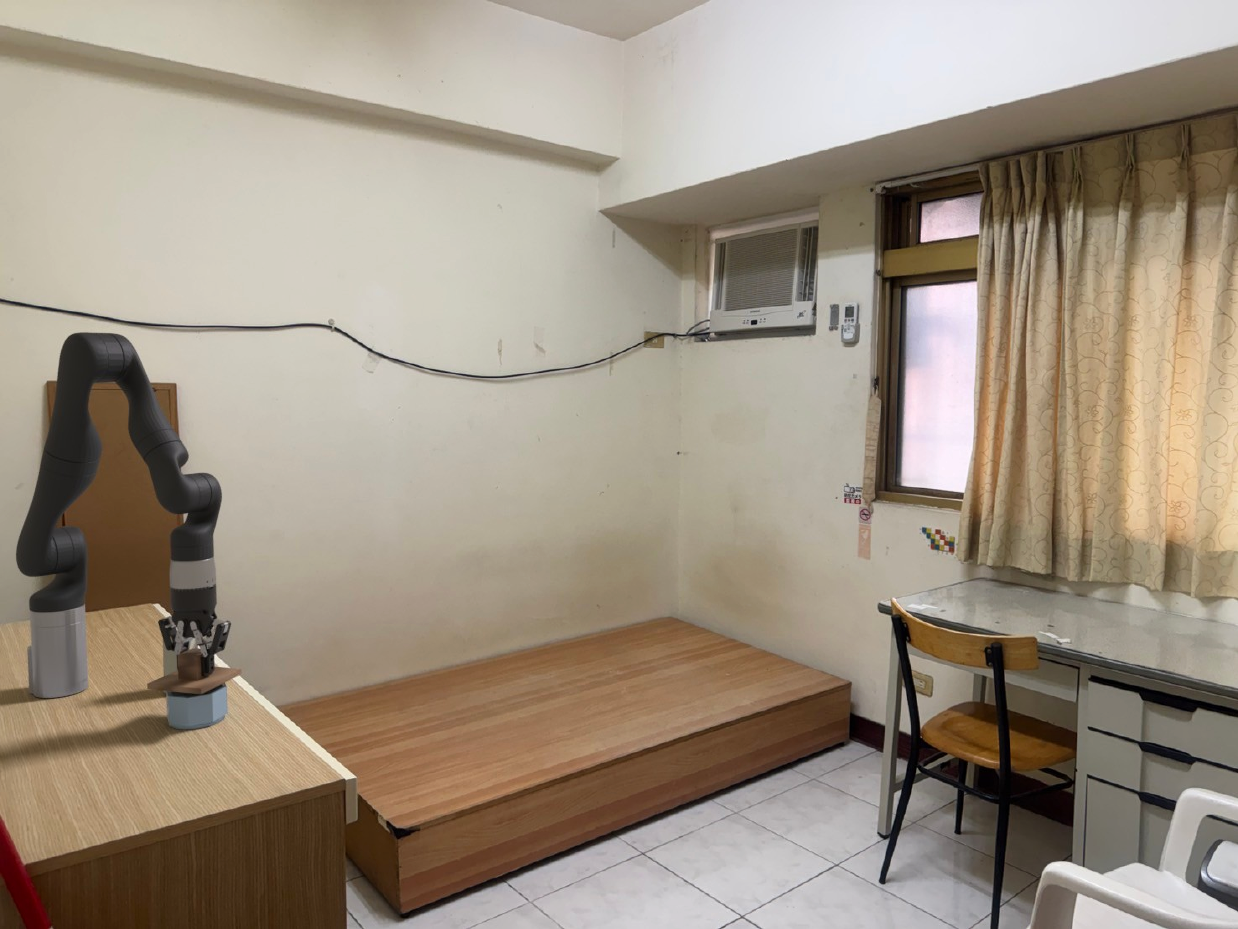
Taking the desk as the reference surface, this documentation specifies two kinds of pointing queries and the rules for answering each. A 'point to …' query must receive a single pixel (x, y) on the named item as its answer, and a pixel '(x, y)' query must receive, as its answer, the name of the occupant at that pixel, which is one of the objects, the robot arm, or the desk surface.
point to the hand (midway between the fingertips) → (196, 673)
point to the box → (173, 658)
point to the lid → (193, 675)
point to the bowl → (196, 708)
